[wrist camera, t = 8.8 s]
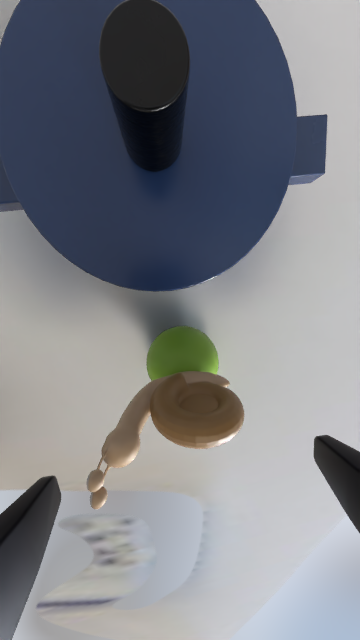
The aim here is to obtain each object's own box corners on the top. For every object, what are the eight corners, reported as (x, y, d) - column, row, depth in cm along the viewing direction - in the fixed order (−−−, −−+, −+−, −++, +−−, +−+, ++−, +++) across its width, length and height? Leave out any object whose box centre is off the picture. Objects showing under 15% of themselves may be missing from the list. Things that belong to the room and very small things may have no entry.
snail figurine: (135, 322, 17) (68, 420, 5) (208, 317, 17) (297, 398, 6) (141, 379, 18) (97, 564, 6) (210, 374, 19) (286, 538, 7)
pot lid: (281, 276, 10) (357, 275, 6) (53, 302, 10) (-27, 320, 6) (282, -25, 8) (407, -352, 4) (-25, -11, 7) (-261, -370, 3)
